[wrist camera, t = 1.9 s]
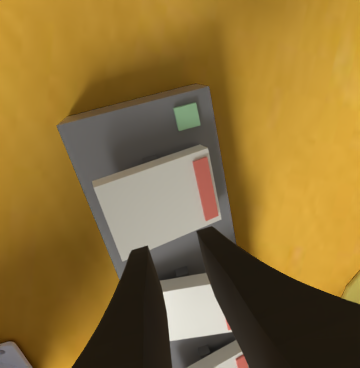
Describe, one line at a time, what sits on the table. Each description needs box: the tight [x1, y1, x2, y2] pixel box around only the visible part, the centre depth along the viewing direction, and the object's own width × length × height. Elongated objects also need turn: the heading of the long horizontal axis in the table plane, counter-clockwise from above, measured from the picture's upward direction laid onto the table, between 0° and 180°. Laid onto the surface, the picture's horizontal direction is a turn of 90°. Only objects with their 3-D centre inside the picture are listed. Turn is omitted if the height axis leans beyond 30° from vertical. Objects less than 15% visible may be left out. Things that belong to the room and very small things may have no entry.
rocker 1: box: [92, 144, 221, 262], centre depth 15 cm, size 6×4×1 cm
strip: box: [57, 84, 236, 368], centre depth 21 cm, size 8×26×4 cm, turn 13°
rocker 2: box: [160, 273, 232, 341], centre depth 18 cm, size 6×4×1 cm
